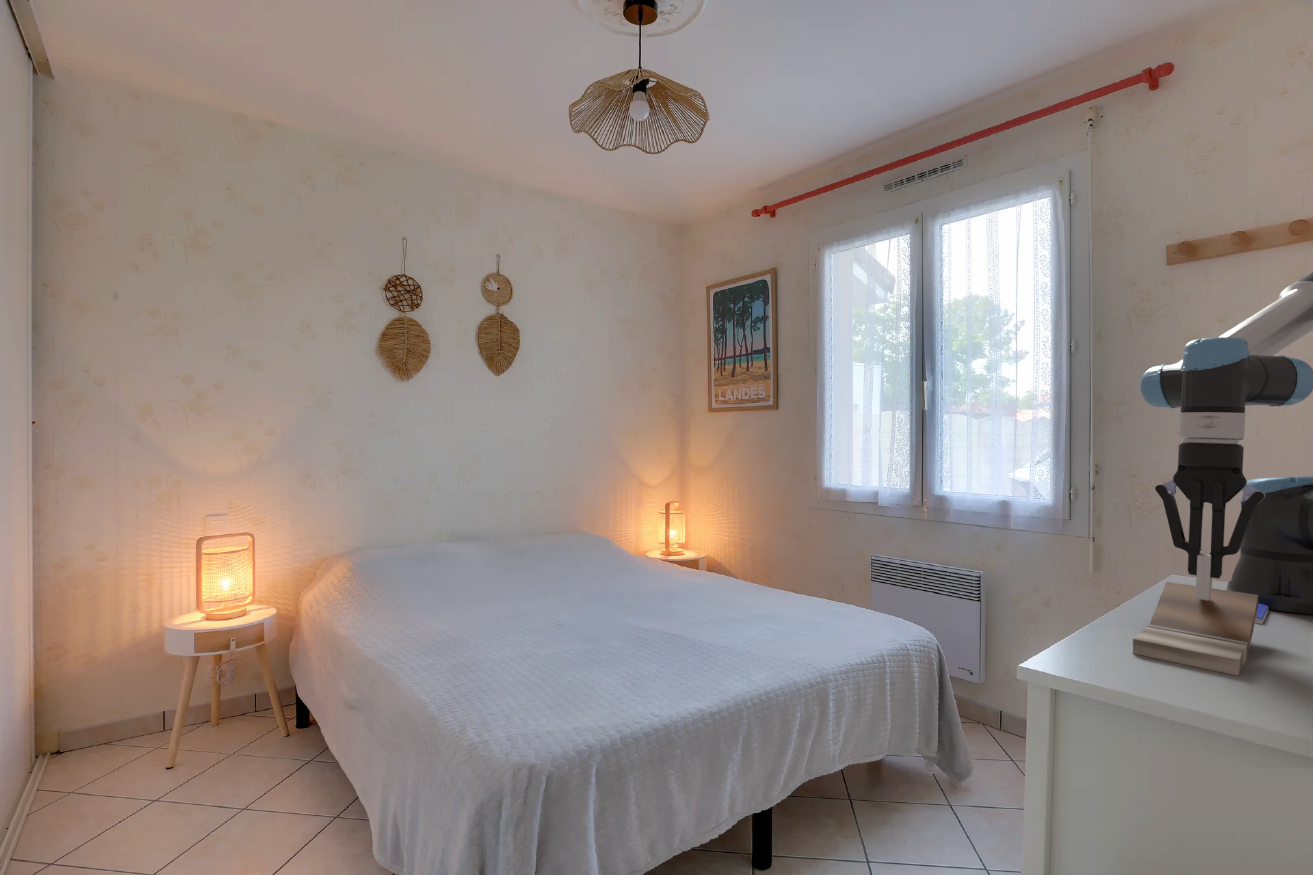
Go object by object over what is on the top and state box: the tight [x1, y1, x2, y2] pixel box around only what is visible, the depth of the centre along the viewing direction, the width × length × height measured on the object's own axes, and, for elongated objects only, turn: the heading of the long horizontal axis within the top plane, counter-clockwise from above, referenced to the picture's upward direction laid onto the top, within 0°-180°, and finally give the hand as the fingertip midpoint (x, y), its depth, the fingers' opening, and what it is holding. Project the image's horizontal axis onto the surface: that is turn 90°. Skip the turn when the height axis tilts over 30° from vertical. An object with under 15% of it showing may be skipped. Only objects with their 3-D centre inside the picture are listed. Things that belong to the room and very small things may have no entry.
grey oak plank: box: [1132, 623, 1248, 677], centre depth 91 cm, size 10×11×2 cm
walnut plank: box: [1149, 581, 1258, 656], centre depth 100 cm, size 13×11×2 cm
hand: (1203, 597), depth 101 cm, fingers closed
